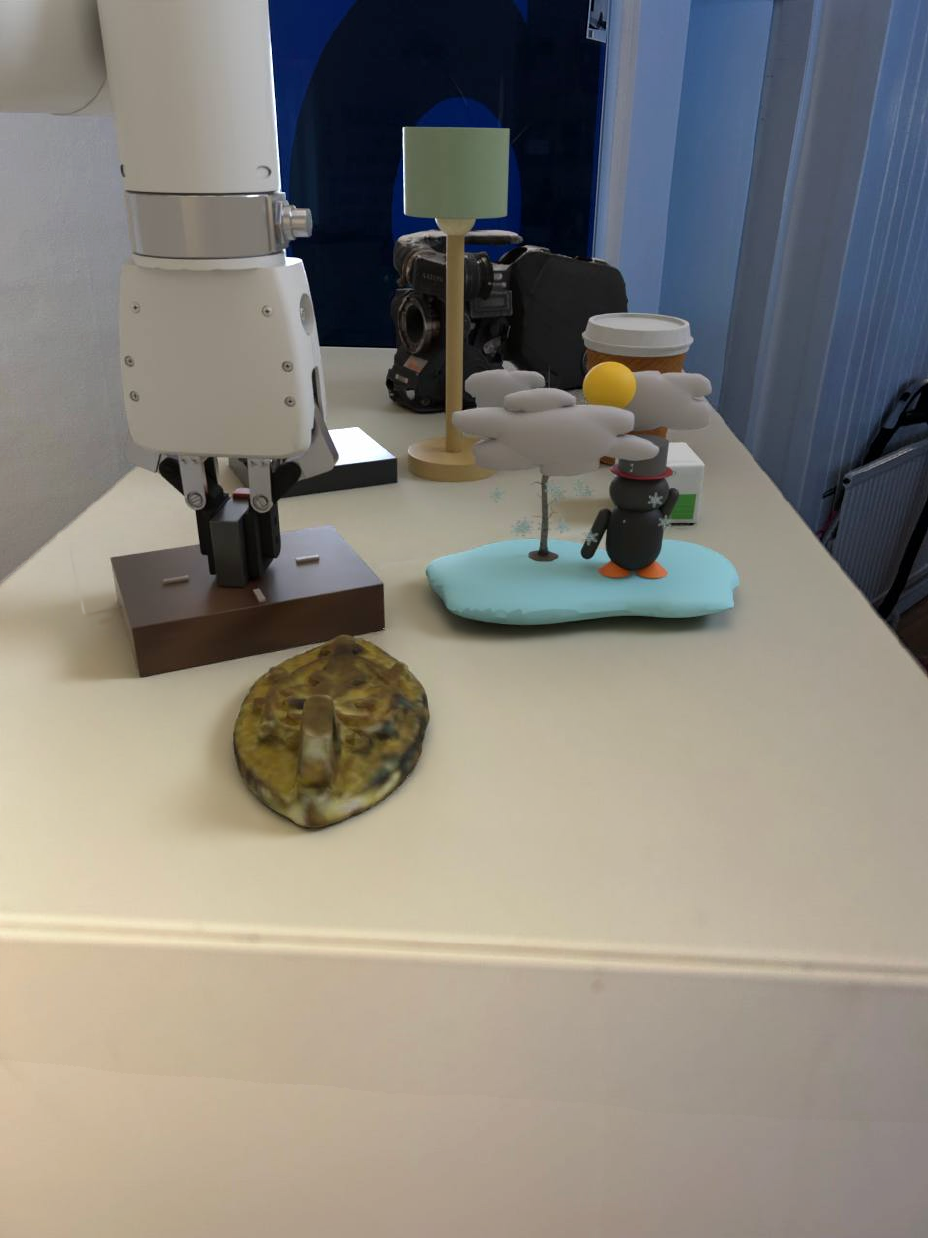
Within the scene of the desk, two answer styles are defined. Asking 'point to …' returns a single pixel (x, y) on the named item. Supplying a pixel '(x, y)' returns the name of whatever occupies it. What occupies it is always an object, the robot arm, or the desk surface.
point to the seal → (330, 731)
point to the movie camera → (495, 313)
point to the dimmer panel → (244, 602)
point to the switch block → (341, 466)
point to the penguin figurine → (572, 445)
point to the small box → (684, 482)
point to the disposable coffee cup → (638, 347)
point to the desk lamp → (453, 257)
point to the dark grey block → (231, 541)
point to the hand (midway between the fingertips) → (242, 564)
